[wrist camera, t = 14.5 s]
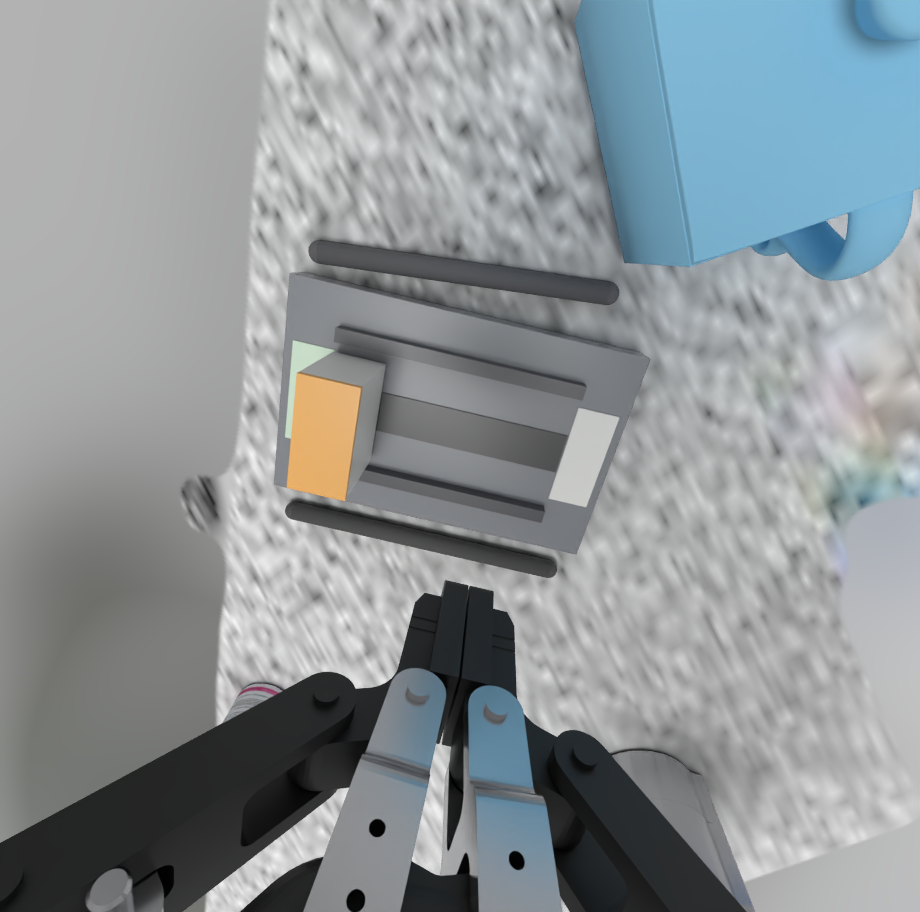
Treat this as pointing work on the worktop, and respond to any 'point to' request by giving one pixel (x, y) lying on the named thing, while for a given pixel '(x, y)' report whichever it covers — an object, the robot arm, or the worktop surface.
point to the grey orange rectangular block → (334, 424)
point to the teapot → (756, 126)
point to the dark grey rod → (420, 539)
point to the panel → (468, 410)
